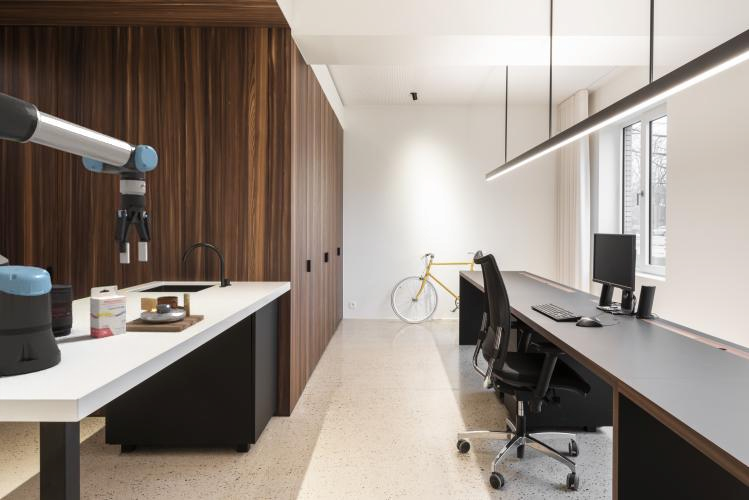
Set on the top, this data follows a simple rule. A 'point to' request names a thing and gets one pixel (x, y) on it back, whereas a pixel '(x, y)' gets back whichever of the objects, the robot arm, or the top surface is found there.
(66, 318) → the camera lens
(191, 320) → the walnut base
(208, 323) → the top surface
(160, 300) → the cup and saucer
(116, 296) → the ink cartridge box
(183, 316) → the flange plate
